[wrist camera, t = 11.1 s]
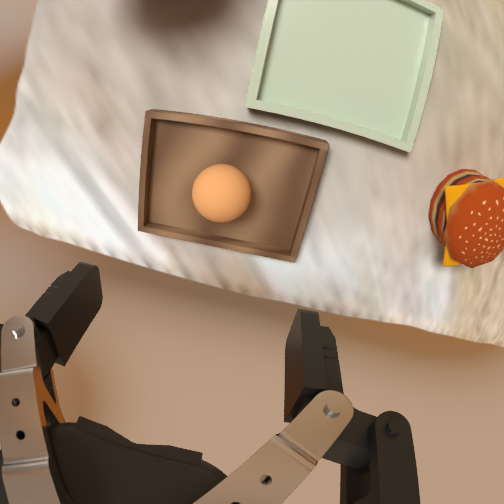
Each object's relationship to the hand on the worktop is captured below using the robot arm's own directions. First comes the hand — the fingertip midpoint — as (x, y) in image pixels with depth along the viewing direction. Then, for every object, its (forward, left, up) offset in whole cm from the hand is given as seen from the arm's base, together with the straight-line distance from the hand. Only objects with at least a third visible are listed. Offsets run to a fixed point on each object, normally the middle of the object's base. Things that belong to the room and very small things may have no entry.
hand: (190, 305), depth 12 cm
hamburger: (-24, -2, -19) cm, 31 cm away
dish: (-7, -13, -19) cm, 24 cm away
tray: (+1, +2, -19) cm, 19 cm away
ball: (+1, +1, -18) cm, 19 cm away
